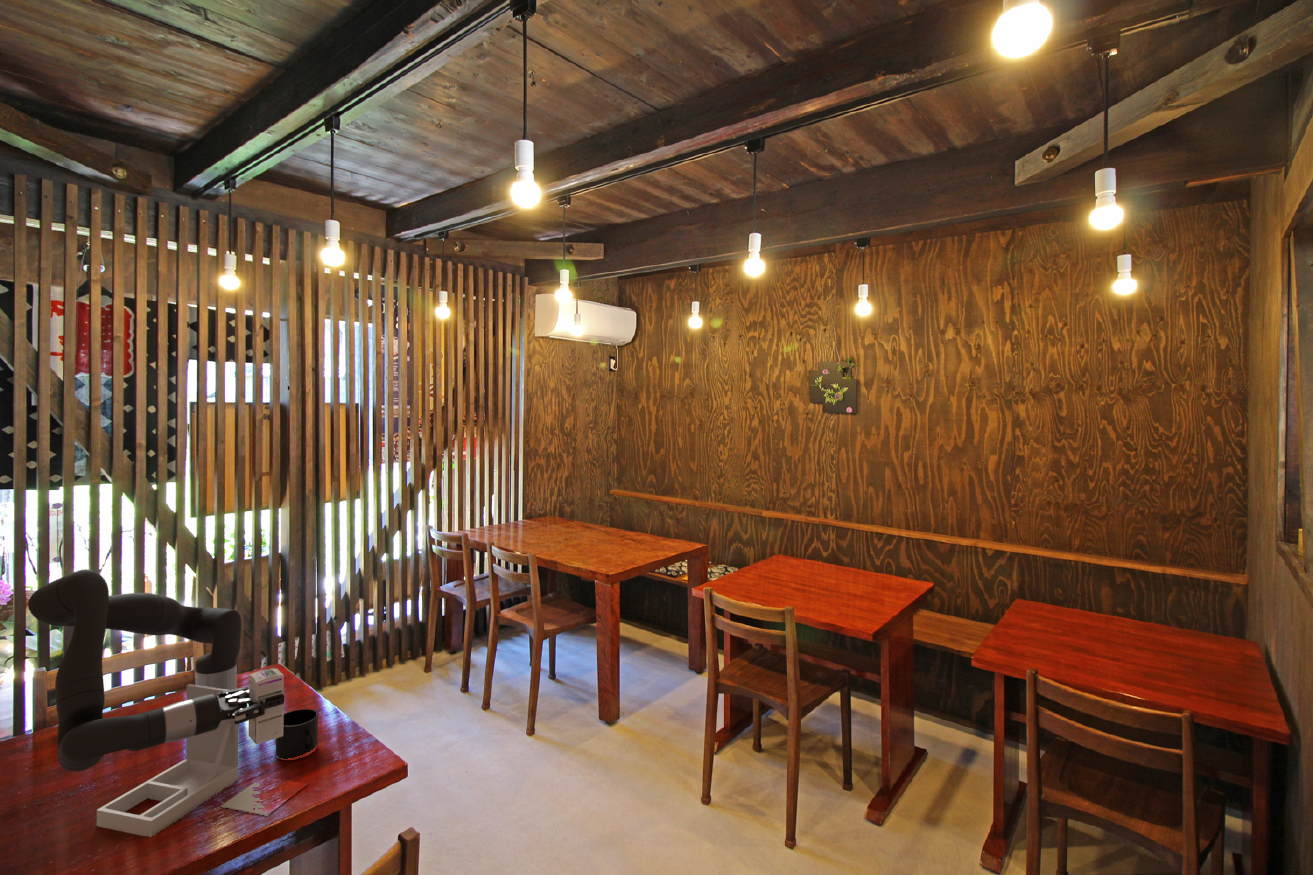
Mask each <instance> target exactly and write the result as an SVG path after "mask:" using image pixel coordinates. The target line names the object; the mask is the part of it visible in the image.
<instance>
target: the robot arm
mask: <svg viewBox="0 0 1313 875" xmlns="http://www.w3.org/2000/svg"><path fill="white" fill-rule="evenodd" d="M27 608H28V610H29V613H30V614H31V615H32V616H33V617H34V618H35V619H36V620H38V621H39V622H42V623H44V624H45V625H48V626H49V625H50V626H54V627H70V628H71V627H72V628H73V627H74V628H73V631H72V635H71V639H70V642H69V643H68V647H67V648H66V650H65V653H64V654H63V657H62V659H61V661H60V664H59V666H58V669H57V671H56V676H55V683H54V684H55V685H54V686H55V687H54V689H55V707H56V713H57V719H58V720H57V723H58V726H57V746H56V749H57V754H56V755H57V761H58V763H59V765H60V766H61V767H62V768H63V769H64V770H66V771H68V772H75V773H76V772H78V773H79V772H82V771H86V770H88V769H90V768H93V767H94V766H95V765H96V764H98V763H99V762H100V761H101V760H102V758H103V757H104V755H108V754H111V753H116V752H120V751H125V750H128V751H130V752H136V751H141V750H145V749H150V748H152V747H156V746H159V745H162V744H166V743H174V742H178V741H181V740H186V738H189V737H192V736H196V735H199V734H202V733H206V732H209V731H213V730H216V729H217V728H218V727H219V723H220V722H221V721H222V720H230V719H234V724H239V725H240V724H242V723H245V722H249V720H251V719H254V718H256V717H259V716H262V715H264V714H265V709H267V708H271V707H275V706H278V705H282V704H283V703H284V704H285V694H284V695H283V694H279V695H275V696H271V697H268V698H265V699H259V700H254V699H253V698H249V686H244V687H239V688H238V687H237V685H238V684H237V680H238V679H237V677H238V676H237V673H238V671H237V668H238V667H237V664H238V657H239V654H240V649H241V637H242V616H241V615H240V613H239V612H238V610H236V609H233V608H232V609H231V608H223V607H201V606H200V607H199V606H197V607H196V606H195V607H194V606H186V605H182V604H181V603H179V601H177V600H175V599H174V598H172V597H169V596H164V595H160V594H156V593H152V592H132V593H131V592H129V593H121V594H113V595H110V594H109V586H108V583H107V581H106V579H105V578H104V577H103V576H102V575H101V574H100V573H98V572H97V571H95V570H91V569H87V568H86V569H80V570H77V571H74V572H70V573H69V574H66V575H63V576H62V577H60V578H58V579H56V580H53V581H51V582H48V583H46V584H44V585H43V586H42V587H39V588H38V589H37V590H35V591H33V592H32V594H31V596H30V597H29V599H28V602H27ZM106 630H112V631H113V630H114V631H120V632H129V633H134V634H139V635H147V636H167V635H168V636H169V635H170V636H171V635H172V636H177V637H179V638H183V639H187V640H190V641H193V642H196V643H200V644H201V643H202V644H210V645H211V644H212V645H211V651H210V652H209V653H205V654H204V655H201V656H200V657H198V658H197V659H196V661H195V666H194V667H195V669H194V670H195V672H194V673H195V675H194V678H195V679H194V680H195V681H194V682H195V684H194V685H200V686H207V687H214V688H220V689H227V691H222V692H219V693H218V698H217V696H216V695H215V694H208V695H204V696H200V697H196V698H193V699H189V700H187V699H185V700H181V701H177V702H174V703H171V704H168V705H165V706H163V707H158V708H156V709H151V710H147V711H144V712H140V713H136V714H131V715H122V716H121V715H120V716H112V717H104V714H103V711H104V706H105V700H106V698H105V684H104V673H103V650H104V642H105V633H106ZM253 704H255V705H253ZM257 712H258V713H257ZM254 713H255V714H254Z"/></svg>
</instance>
